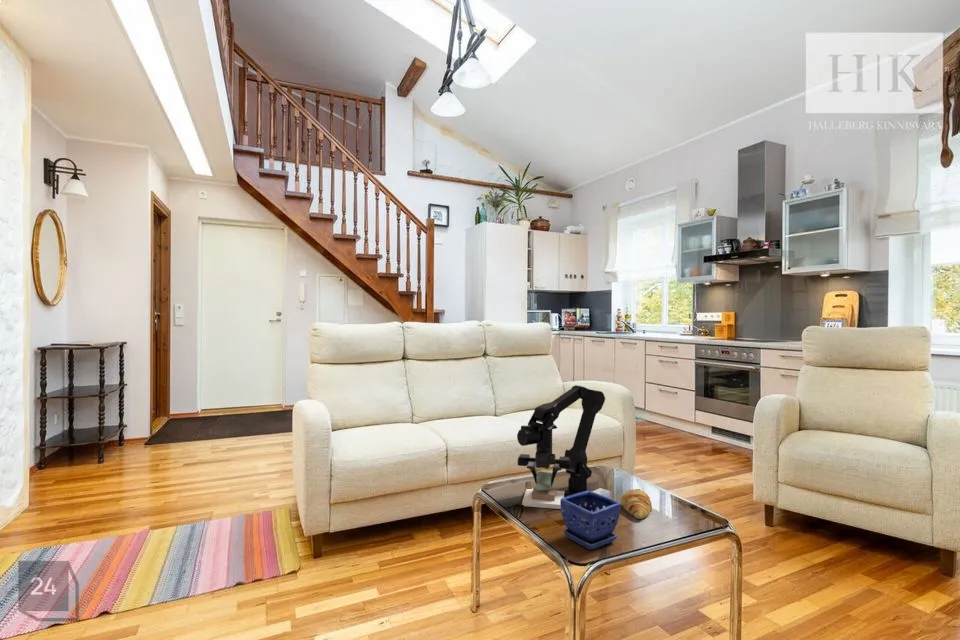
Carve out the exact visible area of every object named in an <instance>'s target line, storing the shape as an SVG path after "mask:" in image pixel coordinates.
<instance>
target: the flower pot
mask: <svg viewBox="0 0 960 640" xmlns="http://www.w3.org/2000/svg"><path fill="white" fill-rule="evenodd" d="M592 491H593V490H587V491H584V492H581V493H577V494H571V495H567V496H564V498H561V500H560V504H561V509H560V511H561V516H562V519H563V522H564V524H565V526H566V528H567V529H564V530H563V534H564V535H565V536H566V537H567V538H568V539H569V540H571V541H573V542H575V543H577V544H579V545H581V546H583V547H584V548H586V549H588V550H594V549H597V548H600V547H603V546H606V545H607V544H610V543H612V542H614V541H615V540H617V538H618V535H617V534H616V533H613V532H614V531H615V529H616V527H617V525H618V521H619V518H620V513H621V509H622V508H621V507H622V505H621V502H620V501H617V500H615V499H612V498H611V499H610V498H608V497H605V496H603V495H600V494H597V493H595V492H592ZM594 503H595V504H594ZM585 504H586V505H585ZM603 506H605V508H603ZM597 507H598V508H599V510H598V511H596V508H597ZM591 510H592V511H593V512H591ZM605 544H606V545H605Z"/></svg>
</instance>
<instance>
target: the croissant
mask: <svg viewBox="0 0 960 640" xmlns="http://www.w3.org/2000/svg"><path fill="white" fill-rule="evenodd" d="M619 503H620V504H621V507H623V509H624V510H625V511H626V512H628V513H629V514H630V515H631V516H633V517H634V518H635V519H637V520H642V519H644V518H646V517H648V516H649V515H650V514H651V513H652V511H653V507H652V500H651V497H650V496H649V495H648V493H646V492H645V491H644V490H642V489H641V488H636V489H635V488H633V489H629V490H627V491H626V492H625V493H623V495H621V497H620V500H619Z"/></svg>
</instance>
